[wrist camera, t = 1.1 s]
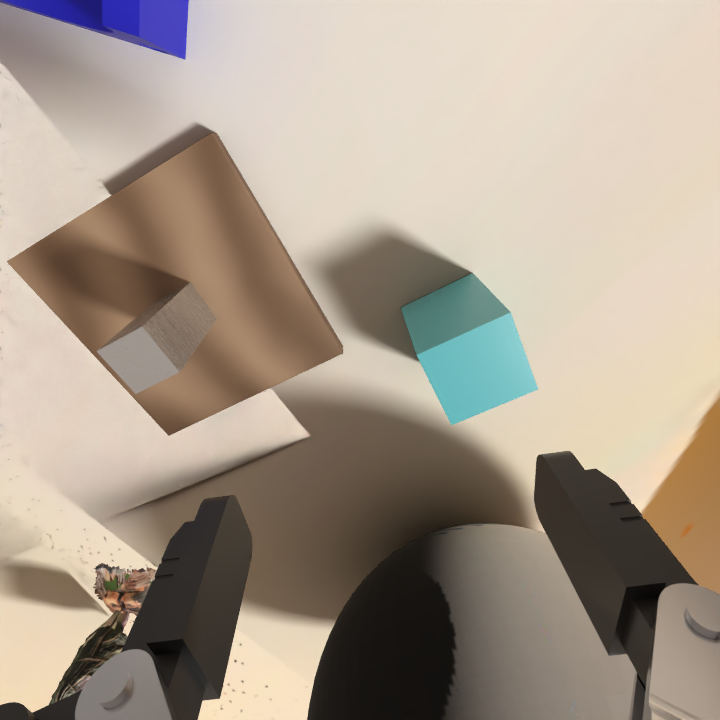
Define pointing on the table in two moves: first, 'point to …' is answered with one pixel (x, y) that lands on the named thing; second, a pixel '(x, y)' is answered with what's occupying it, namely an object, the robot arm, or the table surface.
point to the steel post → (159, 339)
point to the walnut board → (186, 282)
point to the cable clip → (122, 19)
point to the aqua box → (468, 348)
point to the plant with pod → (106, 624)
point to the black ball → (469, 637)
